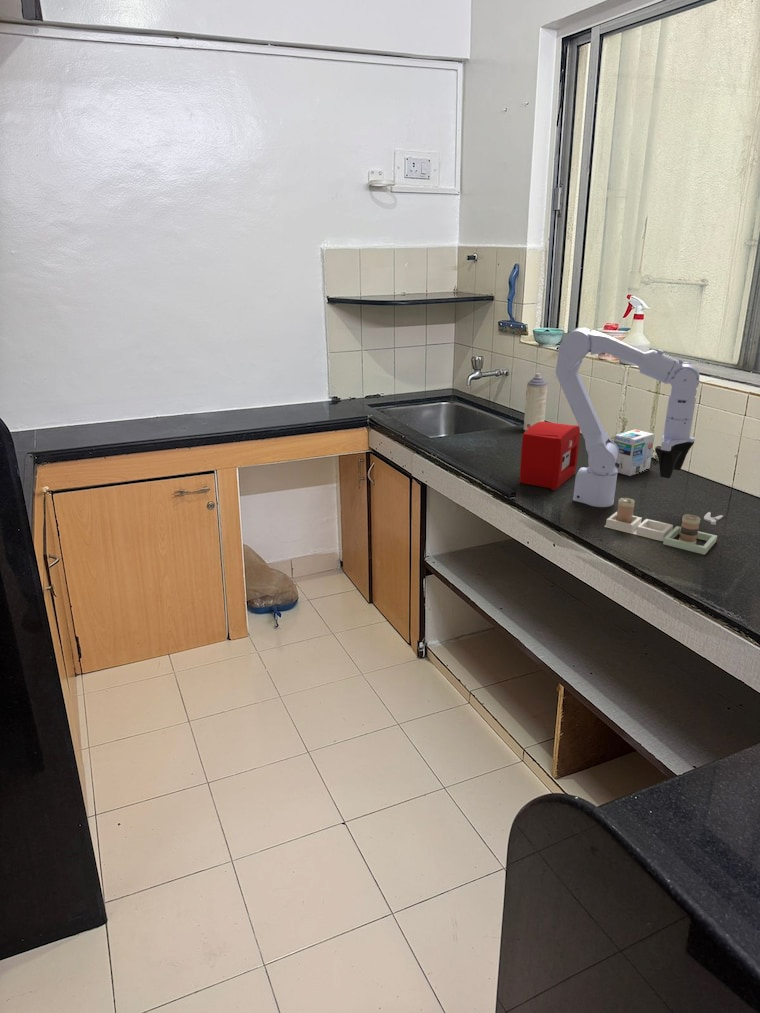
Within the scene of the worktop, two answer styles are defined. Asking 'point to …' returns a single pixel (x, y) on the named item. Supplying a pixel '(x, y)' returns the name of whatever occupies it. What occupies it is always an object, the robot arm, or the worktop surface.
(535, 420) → the aerosol can
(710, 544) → the tray
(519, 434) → the worktop surface
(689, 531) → the cylinder
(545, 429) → the fire alarm
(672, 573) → the worktop surface
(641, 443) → the light bulb box
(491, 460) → the worktop surface
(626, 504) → the fuse
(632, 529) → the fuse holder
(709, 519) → the pliers
